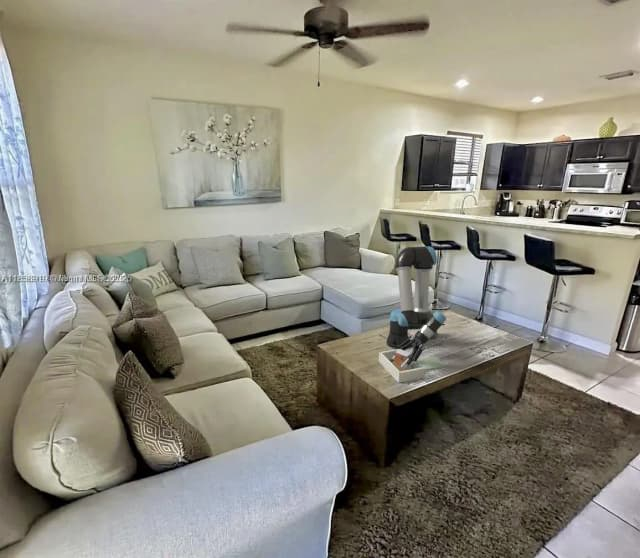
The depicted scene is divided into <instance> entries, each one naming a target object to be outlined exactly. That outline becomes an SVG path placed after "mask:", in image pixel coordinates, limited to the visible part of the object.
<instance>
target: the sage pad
mask: <svg viewBox="0 0 640 558" xmlns="http://www.w3.org/2000/svg"><path fill="white" fill-rule="evenodd" d="M415 364H416V365H418V366H419V368H422V367H424V368H425V372H427V371H432V370H436V369H442V368H446V367H447V365H446V363H444V362H443V361H441V360H440V359H439V358H438V357H437V356H435V355H432V356H426V357H419V358H418V359H417V361H416V362H415Z"/></svg>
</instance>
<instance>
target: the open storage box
mask: <svg viewBox="0 0 640 558" xmlns="http://www.w3.org/2000/svg"><path fill="white" fill-rule="evenodd" d="M398 350H399V349H391V350H386V351H385V350H384V351H380V352H378V363H380V365H381V366H382V367H383V368H385V371H387V372H388V373H389V374H390V375H391V376H392V378H394V380H396V382H397V383H398V384H400V383H404V382H409V381H410V380H411V381H415V380H416V381H417V380H420V379H425V374H426V371H425V368H424V367H422V368H421V367H418V368H417V367H416V368H411V369H410V370H406V371H400V370H398V369H397V368H396V367H395V366H394V363H392V362H391V361H394V359H392V357H393V356H394V355H395V352H396V351H398Z"/></svg>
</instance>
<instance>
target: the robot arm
mask: <svg viewBox="0 0 640 558" xmlns="http://www.w3.org/2000/svg"><path fill="white" fill-rule="evenodd" d="M437 259H438V258H437V253H436V250H435V248H434V247H433V246H428V245H427V246H425V245H424V246H407V247H405V248H403V249H402V250H400V251H399V253H398V255H397V257H396V260H395V271H396V272H397V277H398V279H397V280H398V290H399V300H400V308H397V309H393V310H392V311H391V312H390V316H389V332H388V336H387V338H386V345H387V346H388V347H389V348H392V349H394V350H396V349H401V350H404V351H407V350H408V349H409V348H412V351H411V353H412V354H411V356H410V357H409V358H408V359H407V360H406V361H405V362H404V363H403V364H402V365H401V367H402V368H403V369H405V368H406V367H407V366H408V365H410V363H411V364H412V363H413V362H414V363H416V361H417V359H419V358H420V357H421V355H422V353H423V351H425V349H426V346H424V344H426V343H427V342H428V341H429V339H432V338H431V336H432V335H433V334H434V333H435V332H436V331H437V332H438V330H439V329H440V328H441V327H442V326H443V325H442V324H445V322H446V321H447V317H446V316H445V315H444V314H443V313H442V312H440V311H438V310H435V312H432V311H431V309H430V307H429V293H430V292H429V291H430V276H431V275H430V274H431V271H432V270H433V266H435V265H436V264H437ZM412 266H413V267H412ZM412 268H413V269H414V271H415V277H414V296H413V285H412V274H411V270H412ZM408 330H409V331H410V330H418V331H417V332H416V333H414V336H411V335H409V333H408V332H409V331H408ZM392 359H394V360H395V355H394V356H393V357H392ZM394 360H393V361H394Z"/></svg>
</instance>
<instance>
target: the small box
mask: <svg viewBox="0 0 640 558" xmlns="http://www.w3.org/2000/svg"><path fill="white" fill-rule="evenodd" d="M411 354H412V352H409V351H407V350H401V349H399V350H398V351H396V352H395V360H393V362H394V363H393V365H394V366H395V367H396V368H397V369H398V370H399V371H406V370H411V369H412V362H411V363H410V365H408V366H407V367H406V368H405V369H403V368H402V367H401V365H402V364H403V363H404V362H405V361H406V360H407V359H408V358H409V357H410V356H411Z"/></svg>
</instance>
